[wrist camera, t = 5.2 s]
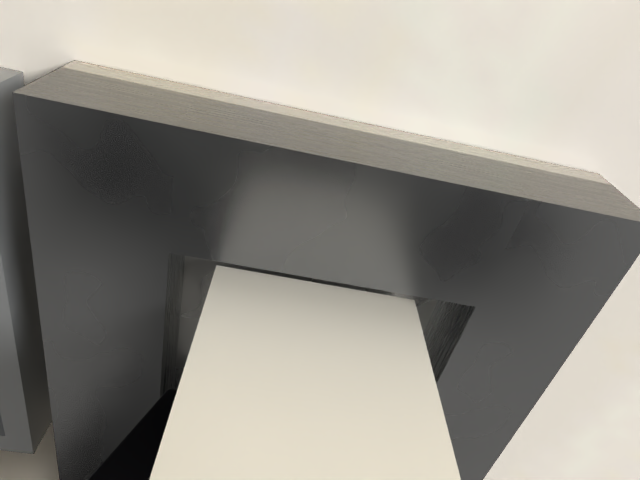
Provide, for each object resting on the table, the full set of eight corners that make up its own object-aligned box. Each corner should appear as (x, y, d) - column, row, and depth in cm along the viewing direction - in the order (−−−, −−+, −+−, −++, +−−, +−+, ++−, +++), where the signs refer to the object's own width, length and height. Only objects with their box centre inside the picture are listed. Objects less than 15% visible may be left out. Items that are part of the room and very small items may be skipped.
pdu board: (361, 584, 19) (365, 647, 17) (100, 557, 18) (77, 622, 16) (599, 173, 10) (659, 225, 8) (74, 60, 8) (12, 92, 7)
